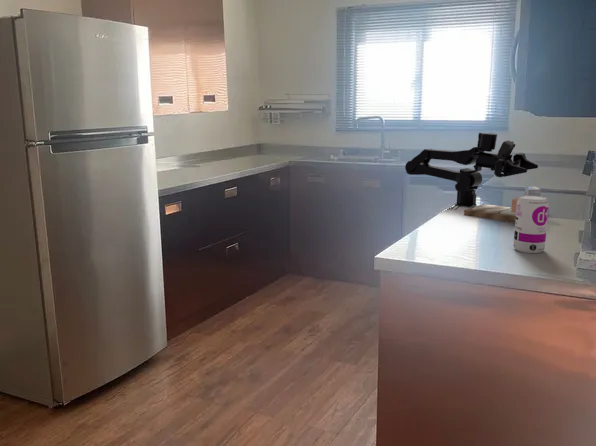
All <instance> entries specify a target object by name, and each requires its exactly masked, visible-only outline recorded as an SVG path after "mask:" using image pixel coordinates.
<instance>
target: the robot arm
mask: <svg viewBox="0 0 596 446" xmlns="http://www.w3.org/2000/svg"><path fill="white" fill-rule="evenodd" d="M497 138H498V134H497V133H493V132H489V133H488V132H478V138H477V139H478V140H477V146H474V147H472V148H470V149H464V150H457V151H456V150H445V149H433V148H425V149H423V150H422V151H420V153H419V154H417V155H416V156H414V157H413V158H411V160H408V161H407V162H406V164H405V166H404V167H405V168H404V169H405V172H406V174H407V175H412V176H413V175H414V176H415V175H416V176H418V175H419V176H420V175H423V176H424V175H425V176H426V175H427V176H429V177H435V178H437V179H438V178H439V179H444V180H447V181H452V182H455V183H456V184H454V188H455V190H456V191H457V193H456V203H454V206H460V207H467V208H472V207H476V206H478V205H477V194H476V190H478V188H479V186H480V185H481V184H482V182H483V177H482V176H483V175H482V174H481V173H480V172H481V171H482V168H484V169H490V171H492V172H494V175H495V177H496V178H505V177H511V176H515V175H516V176H517V175H520V174H525V173H526V174H527V173H528V170H534V169H538V168H539V165H538V164H537V163H534V162H532V161H531V160H528V159H527V158H526V157H527V156H526V153H523V152H518V153H516V154H515V155H513V154H512V152H513V151H514V148H515V147H516V143H515V142H514V141H513V140H512V141H511V140H505V141H503V142H502V143H501V145H500V147H499V150H498V151H497V153H492V151H494V150H496V145H497V144H496V143H497ZM512 157H513V158H512ZM431 160H440V161H451V162H454V163H457V164H459V165H462V166H469V165H473V166H472V167H473V168H474V169H471V168H468V167H466V168H465V167H464V168H461V169H459V170H455V169H449V168H444V167H442V166H441V167H439V166H435V165H430V162H431Z"/></svg>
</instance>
